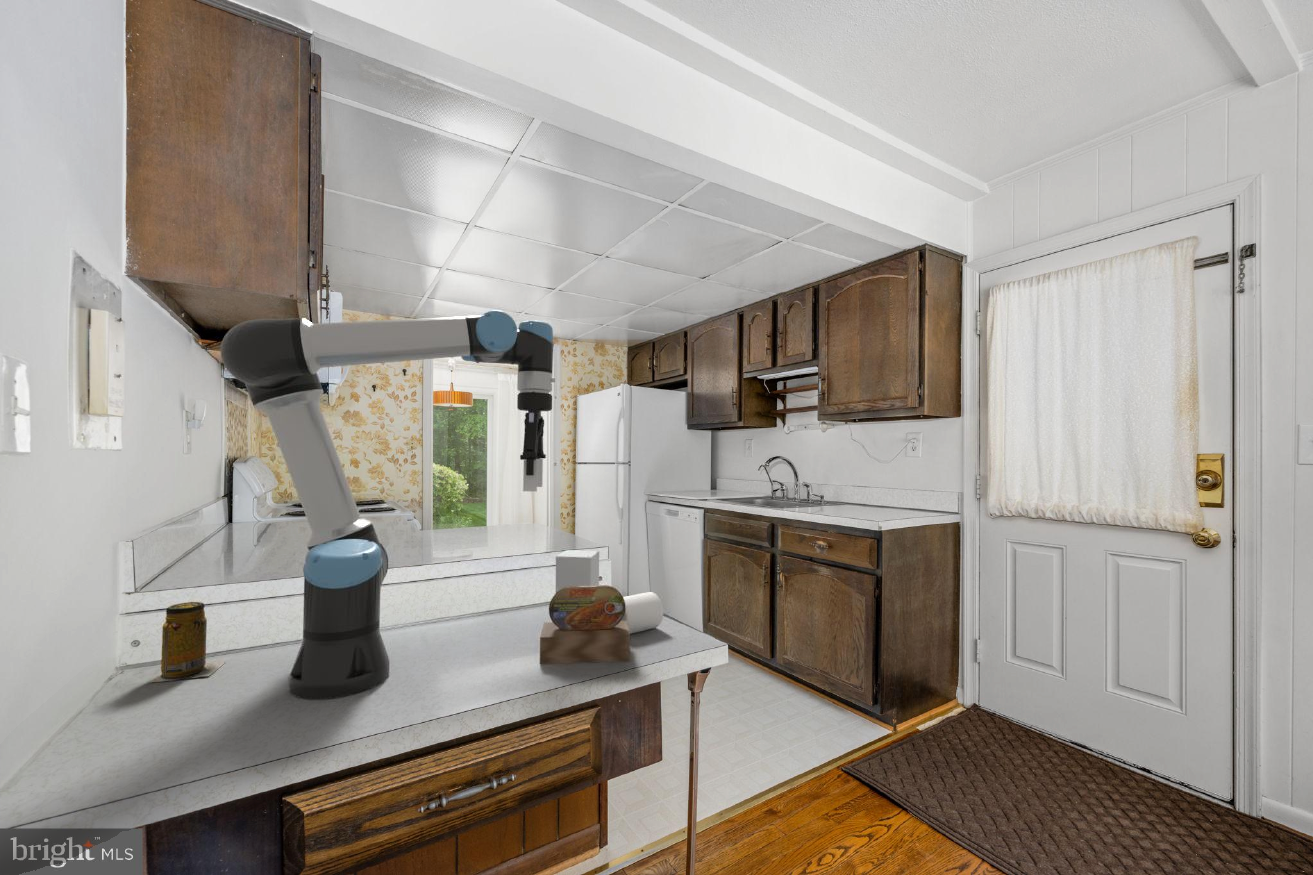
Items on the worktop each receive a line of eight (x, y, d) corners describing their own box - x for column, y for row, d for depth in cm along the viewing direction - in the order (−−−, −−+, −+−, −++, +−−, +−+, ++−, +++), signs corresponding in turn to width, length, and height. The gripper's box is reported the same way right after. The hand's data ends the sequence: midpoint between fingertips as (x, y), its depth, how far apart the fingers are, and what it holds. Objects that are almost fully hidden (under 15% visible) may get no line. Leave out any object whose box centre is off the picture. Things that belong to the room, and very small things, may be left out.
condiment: (170, 667, 101) (172, 601, 102) (225, 662, 104) (227, 597, 104) (148, 683, 94) (151, 612, 95) (208, 677, 97) (211, 608, 97)
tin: (548, 631, 109) (549, 588, 109) (549, 626, 112) (550, 584, 112) (625, 629, 111) (625, 586, 111) (624, 624, 114) (624, 583, 114)
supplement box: (599, 609, 141) (600, 550, 141) (590, 620, 132) (591, 557, 133) (565, 607, 142) (566, 549, 143) (553, 618, 134) (555, 555, 134)
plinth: (539, 663, 105) (540, 637, 105) (543, 647, 114) (543, 622, 114) (629, 660, 107) (629, 634, 107) (626, 644, 116) (626, 620, 116)
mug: (663, 631, 125) (664, 595, 126) (628, 640, 119) (628, 603, 119) (631, 618, 135) (632, 585, 135) (596, 626, 128) (597, 591, 129)
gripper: (548, 387, 111) (546, 493, 111) (555, 398, 136) (554, 485, 136) (509, 386, 110) (507, 493, 110) (524, 397, 135) (522, 485, 135)
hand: (533, 489), depth 123 cm, fingers open, 13 cm apart
